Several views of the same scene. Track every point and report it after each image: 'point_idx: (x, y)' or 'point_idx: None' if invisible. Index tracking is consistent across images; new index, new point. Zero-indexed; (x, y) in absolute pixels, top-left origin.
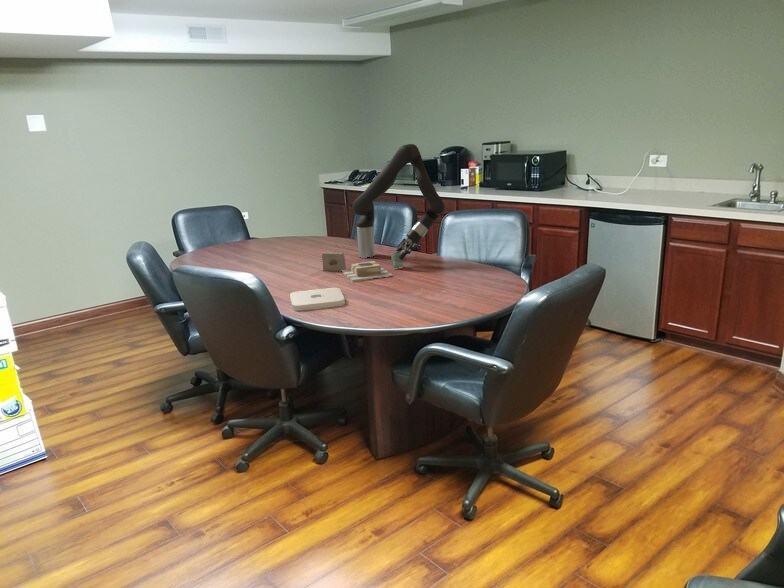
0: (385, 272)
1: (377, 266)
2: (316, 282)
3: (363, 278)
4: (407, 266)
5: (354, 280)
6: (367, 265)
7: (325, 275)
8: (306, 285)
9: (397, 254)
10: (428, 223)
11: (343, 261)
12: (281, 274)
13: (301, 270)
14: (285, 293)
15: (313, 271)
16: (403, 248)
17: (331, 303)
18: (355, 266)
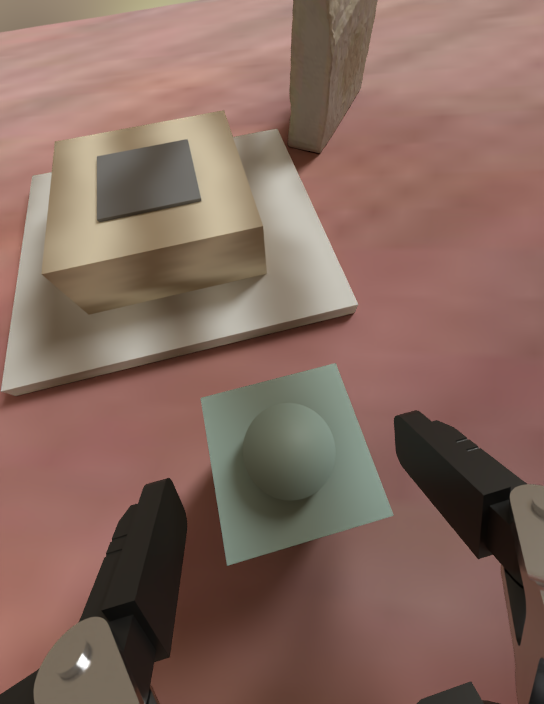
0: (101, 345)
1: (46, 254)
2: (127, 83)
3: (27, 219)
4: (342, 592)
5: (34, 187)
6: (97, 187)
7: (236, 97)
8: (100, 65)
9: (212, 459)
10: None
11: (303, 78)
12: None
13: None
14: (32, 37)
15: None
16: (521, 673)
17: None
18: (125, 132)
